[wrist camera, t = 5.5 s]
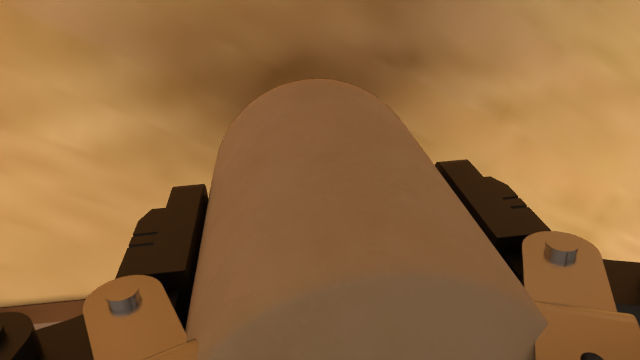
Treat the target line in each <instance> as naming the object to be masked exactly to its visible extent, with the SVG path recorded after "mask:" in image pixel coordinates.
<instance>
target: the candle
mask: <svg viewBox="0 0 640 360" xmlns="http://www.w3.org/2000/svg"><path fill="white" fill-rule="evenodd" d="M547 325H548V321H547V320H546V318H545V317H544V316H543V314H542V313H541V311H540V310H539V309H538V307H537V306H536V304H535V303H534V301H533V299H532V298H531V296H530V295H529V293H528V292H527V291H526V289H525V288H524V287H523V285H522V284H521V282H520V281H519V280H518V278H517V277H516V276H515V274H514V273H513V272H512V270H511V269H510V268H509V266H508V265H507V263H506V262H505V261H504V259H503V258H502V257H501V255H500V254H499V253H498V251H497V250H496V248H495V247H494V246H493V244H492V243H491V242H490V240H489V239H488V238H487V236H486V235H485V233H484V232H483V231H482V229H481V228H480V227H479V225H478V224H477V223H476V221H475V220H474V219H473V217H472V216H471V214H470V213H469V212H468V210H467V209H466V208H465V206H464V205H463V204H462V202H461V201H460V199H459V198H458V197H457V195H456V194H455V193H454V191H453V190H452V189H451V187H450V186H449V184H448V183H447V182H446V180H445V179H444V178H443V176H442V175H441V174H440V172H439V171H438V170H437V168H436V167H435V165H434V164H433V163H432V161H431V160H430V159H429V157H428V156H427V155H426V153H425V152H424V150H423V149H422V148H421V146H420V145H419V144H418V142H417V141H416V140H415V138H414V137H413V135H412V134H411V133H410V131H409V130H408V129H407V127H406V126H405V125H404V123H403V122H402V121H401V120H400V119H399V117H398V116H397V115H396V114H395V113H394V112H393V111H392V109H391V108H390V107H389V106H388V105H386V104H385V103H384V102H383V101H382V100H380V99H379V98H378V97H376V96H374V95H373V94H371V93H369V92H368V91H366V90H364V89H362V88H359V87H357V86H355V85H352V84H349V83H346V82H342V81H338V80H330V79H306V80H298V81H294V82H290V83H286V84H283V85H281V86H278V87H276V88H273V89H271V90H270V91H268V92H266V93H264V94H262V95H261V96H259V97H258V98H257V99H255V100H254V101H253V102H251V103H250V104H249V105H248V106H247V107H246V108H245V109H244V110H243V111H242V112H241V113H240V114H239V115H238V116H237V118H236V119H235V120H234V122H233V123H232V124H231V126H230V127H229V129H228V131H227V132H226V134H225V136H224V138H223V140H222V143H221V145H220V148H219V151H218V155H217V159H216V163H215V168H214V172H213V177H212V183H211V188H210V194H209V200H208V205H207V211H206V216H205V222H204V228H203V233H202V239H201V245H200V250H199V256H198V261H197V267H196V273H195V278H194V284H193V290H192V295H191V301H190V306H189V312H188V318H187V323H186V329H185V333H186V335H187V339H186V342H187V341H190V340H192V339H196V340H197V341H198V343H199V345H198V354H197V360H534V348H535V341H536V340H537V339H538V337H539V336H540V335H541V333H542V332H543V331H544V329H545V328H546V326H547Z"/></svg>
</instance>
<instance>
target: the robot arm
mask: <svg viewBox="0 0 640 360" xmlns="http://www.w3.org/2000/svg"><path fill="white" fill-rule="evenodd" d="M435 167H436V168H437V170H438V171H439V172H440V174H441V175H442V176H443V178H444V179H445V180H446V182H447V183H448V184H449V186H450V187H451V189H452V190H453V191H454V193H455V194H456V195H457V197H458V198H459V199H460V201H461V202H462V204H463V205H464V206H465V208H466V209H467V210H468V212H469V213H470V214H471V216H472V217H473V219H474V220H475V221H476V223H477V224H478V225H479V227H480V228H481V229H482V231H483V232H484V233H485V235H486V236H487V238H488V239H489V240H490V242H491V243H492V244H493V246H494V247H495V248H496V250H497V251H498V253H499V254H500V255H501V257H502V258H503V259H504V261H505V262H506V263H507V265H508V266H509V268H510V269H511V270H512V272H513V273H514V274H515V276H516V277H517V278H518V280H519V281H520V282H521V284H522V285H523V287H524V288H525V289H526V291H527V292H528V293H529V295H530V296H531V298H532V299H533V301H534V303H535V304H536V306H537V307H538V309H539V310H540V311H541V313H542V314H543V316H544V317H545V318H546V320H547V321H548V325H547V326H546V328H545V329H544V331H543V332H542V333H541V335H540V336H539V337H538V339H537V340H536V341H535V348H534V360H640V263H637V262H626V261H614V260H605V259H602V256H601V254H600V251H599V250H598V249H597V248H596V247H595V246H594V245H593V244H592V243H590V242H589V241H587V240H585V239H583V238H581V237H578V236H576V235H572V234H569V233H564V232H558V231H551V230H550V229H549V228H548V227H547V226H546V225H545V224H544V223H543V222H542V220H541V219H540V218H539V217H538V216H537V215H536V214H535V213H534V212H533V211H532V210H531V209H530V208H529V207H527V205H526V204H525V203H524V202H523V201H522V200H521V199H520V198H518V195H517V194H516V193H515V192H514V191H513V190H512V189H511V188H510V187H509V186H508V185H506V184H504V183H502V182H500V181H498V180H496V179H494V178H492V177H483V176H482V175H481V174H480V173H479V172H478V170H477V169H476V168H475V167H474V166H473V165H472V164H471V163H470V162H469V161H468V160H456V161H445V162H437V163H436V164H435ZM207 205H208V194H207V190H206V186H205V184H199V185H189V186H178V187H173V188H172V190H171V194H170V197H169V200H168V203H167V206H166V208H159V209H152V210H150V211H149V212H148V213H147V214H146V215H145V216H144V217H143V218H141V219H140V220H139V221H138V223H137V226H136V228H135V231H134V233H133V237H132V238H131V241H130V243H129V248H127V251H126V253H125V256H124V258H123V261H122V263H121V266H120V268H119V271H118V273H117V276H116V278H115V279H114V280H112V281H109V282H107V283H105V284H103V285H102V286H100V287H98V288H97V289H96V290H94V291H93V292H92V293H91V294H90V295H89V296H88V298H87V299H86V300H85V302H84V305H83V314H81V315H79V316H77V317H75V318H72V319H69V320H66V321H63V322H60V323H57V324H53V325H50V326H47V327H44V328H41V329H38V330H35V327H34V325H33V322H32V320H31V318H30V317H28V316H27V315H25V314H23V313H19V312H2V313H0V360H197V354H198V345H199V343H198V341H197V340H196V339H192V340H190V341H187V342H186V339H187V335H186V333H185V329H186V323H187V318H188V312H189V306H190V301H191V295H192V290H193V284H194V278H195V273H196V267H197V261H198V256H199V250H200V245H201V239H202V233H203V228H204V222H205V216H206V211H207Z"/></svg>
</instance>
